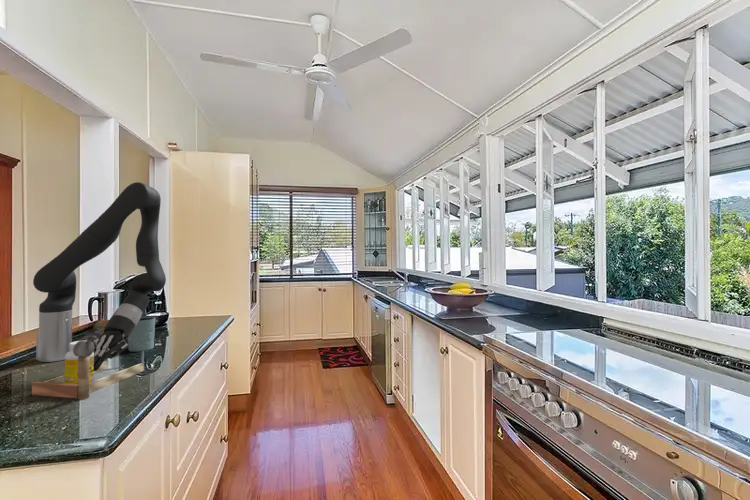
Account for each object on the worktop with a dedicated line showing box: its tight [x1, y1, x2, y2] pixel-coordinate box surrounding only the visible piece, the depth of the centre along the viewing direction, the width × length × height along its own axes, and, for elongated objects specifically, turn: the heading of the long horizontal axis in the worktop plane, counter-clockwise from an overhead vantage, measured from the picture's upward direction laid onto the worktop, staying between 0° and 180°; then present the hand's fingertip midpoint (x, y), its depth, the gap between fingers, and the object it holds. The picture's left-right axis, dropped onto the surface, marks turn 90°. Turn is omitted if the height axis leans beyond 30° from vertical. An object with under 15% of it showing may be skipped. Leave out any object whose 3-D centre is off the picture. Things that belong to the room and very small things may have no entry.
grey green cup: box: [127, 316, 156, 352], centre depth 154 cm, size 10×10×12 cm
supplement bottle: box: [63, 340, 94, 384], centre depth 110 cm, size 7×7×13 cm
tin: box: [92, 319, 110, 339], centre depth 171 cm, size 15×3×8 cm, turn 91°
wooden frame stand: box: [31, 335, 145, 400], centre depth 114 cm, size 25×19×16 cm
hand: (91, 369), depth 114 cm, fingers closed
